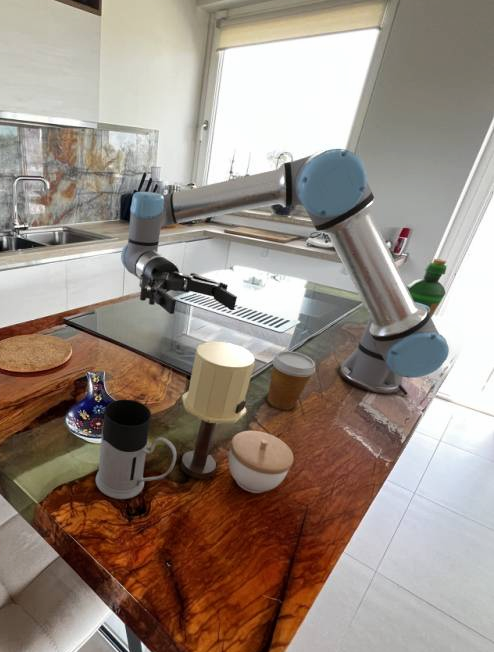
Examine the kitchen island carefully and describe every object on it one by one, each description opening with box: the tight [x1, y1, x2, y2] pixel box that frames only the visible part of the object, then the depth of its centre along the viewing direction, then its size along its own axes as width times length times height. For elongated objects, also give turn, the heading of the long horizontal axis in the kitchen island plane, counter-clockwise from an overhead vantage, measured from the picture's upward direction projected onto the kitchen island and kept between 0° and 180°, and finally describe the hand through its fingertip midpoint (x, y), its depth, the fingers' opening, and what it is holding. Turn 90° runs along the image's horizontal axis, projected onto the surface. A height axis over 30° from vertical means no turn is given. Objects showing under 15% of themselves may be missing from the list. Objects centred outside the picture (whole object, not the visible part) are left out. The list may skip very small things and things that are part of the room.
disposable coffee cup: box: [266, 350, 316, 411], centre depth 98 cm, size 10×10×12 cm
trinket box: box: [227, 430, 294, 494], centre depth 74 cm, size 11×11×9 cm
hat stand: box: [180, 419, 217, 480], centre depth 73 cm, size 6×6×24 cm
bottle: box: [406, 258, 448, 318], centre depth 134 cm, size 11×11×28 cm
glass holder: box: [95, 399, 178, 500], centre depth 69 cm, size 9×14×15 cm, turn 50°
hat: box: [181, 341, 256, 425], centre depth 69 cm, size 10×10×10 cm
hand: (204, 305), depth 80 cm, fingers open, 13 cm apart
